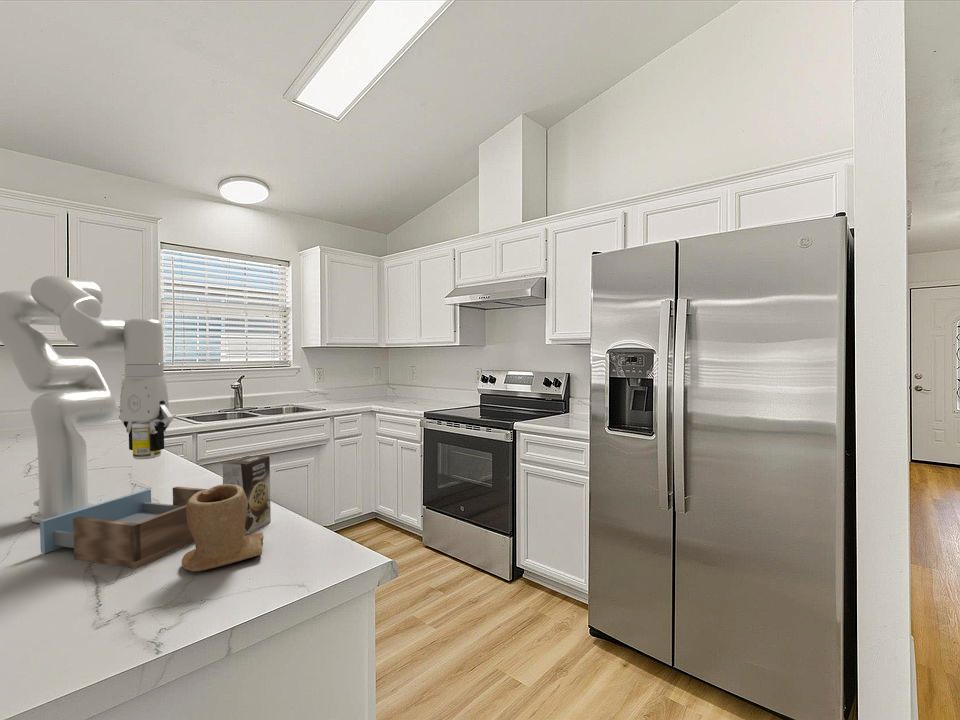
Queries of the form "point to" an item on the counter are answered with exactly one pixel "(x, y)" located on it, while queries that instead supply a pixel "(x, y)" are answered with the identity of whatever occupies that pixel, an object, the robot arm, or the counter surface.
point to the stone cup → (219, 528)
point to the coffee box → (252, 487)
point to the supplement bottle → (142, 441)
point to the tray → (99, 517)
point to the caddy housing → (134, 535)
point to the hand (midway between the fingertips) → (146, 448)
